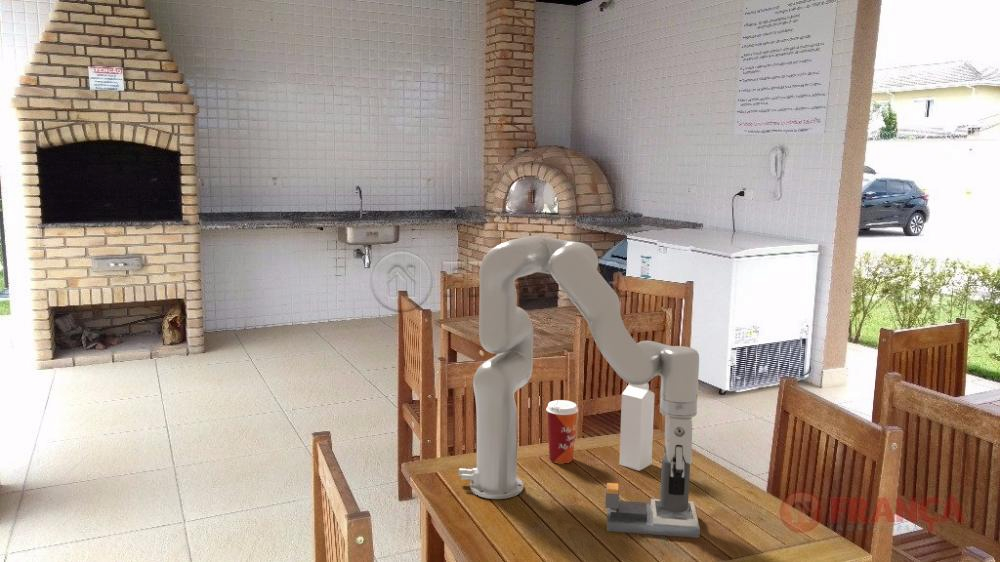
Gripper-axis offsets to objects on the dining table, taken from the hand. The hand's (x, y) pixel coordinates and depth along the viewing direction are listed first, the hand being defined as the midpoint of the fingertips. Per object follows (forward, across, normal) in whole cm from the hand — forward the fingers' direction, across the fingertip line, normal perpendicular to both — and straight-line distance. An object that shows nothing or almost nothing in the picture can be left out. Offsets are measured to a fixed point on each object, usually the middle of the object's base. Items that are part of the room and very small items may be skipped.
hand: (674, 486), depth 163 cm
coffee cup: (+9, +32, +26) cm, 42 cm away
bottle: (+5, 0, 0) cm, 5 cm away
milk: (+9, +32, +7) cm, 34 cm away
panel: (+9, 0, +4) cm, 10 cm away
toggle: (+5, 0, +13) cm, 14 cm away
